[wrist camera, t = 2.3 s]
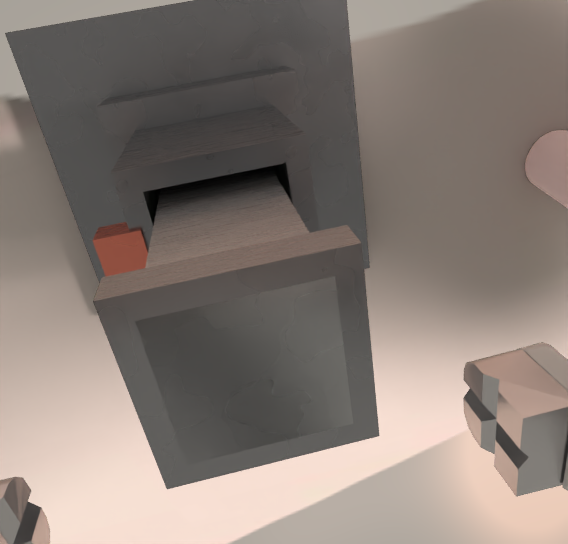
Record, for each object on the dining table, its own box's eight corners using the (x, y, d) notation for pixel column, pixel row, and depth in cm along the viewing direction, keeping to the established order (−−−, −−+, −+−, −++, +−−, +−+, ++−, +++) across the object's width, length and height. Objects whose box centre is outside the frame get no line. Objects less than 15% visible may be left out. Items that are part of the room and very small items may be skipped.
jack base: (336, -23, 25) (447, -65, 14) (362, 257, 32) (448, 371, 21) (15, 33, 24) (-134, 33, 13) (118, 311, 31) (79, 461, 20)
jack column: (255, 111, 25) (361, 242, 10) (271, 205, 28) (379, 436, 12) (155, 130, 25) (92, 301, 9) (181, 223, 27) (167, 489, 12)
